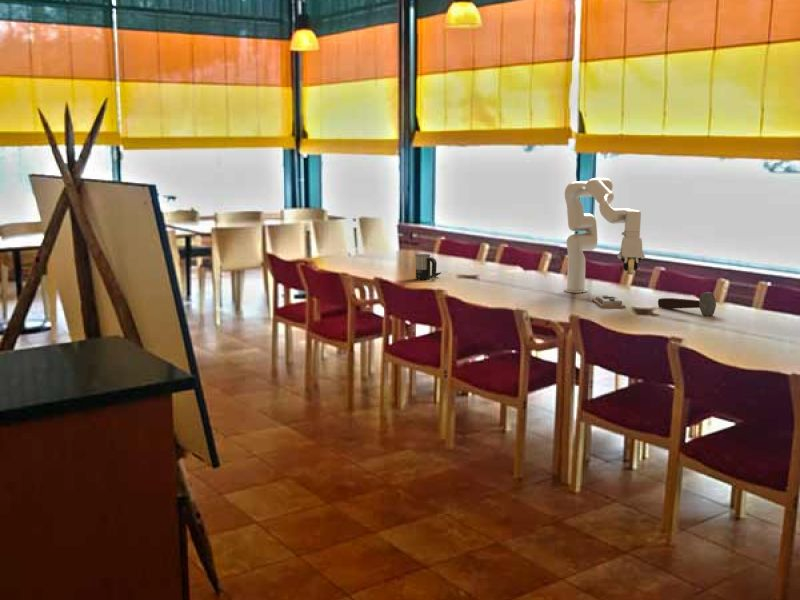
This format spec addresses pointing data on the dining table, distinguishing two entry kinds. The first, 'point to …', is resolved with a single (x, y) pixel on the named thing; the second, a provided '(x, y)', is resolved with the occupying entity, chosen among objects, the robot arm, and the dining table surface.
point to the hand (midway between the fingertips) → (630, 270)
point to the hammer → (691, 303)
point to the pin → (630, 265)
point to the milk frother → (425, 266)
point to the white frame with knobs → (608, 302)
